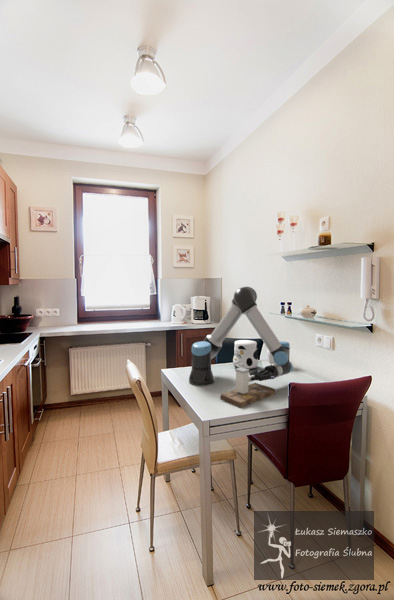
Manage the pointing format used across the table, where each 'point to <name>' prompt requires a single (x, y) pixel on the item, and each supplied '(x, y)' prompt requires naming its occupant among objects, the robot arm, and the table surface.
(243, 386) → the white lidded canister
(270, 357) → the jar
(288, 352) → the robot arm
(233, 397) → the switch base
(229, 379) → the table surface
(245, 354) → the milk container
